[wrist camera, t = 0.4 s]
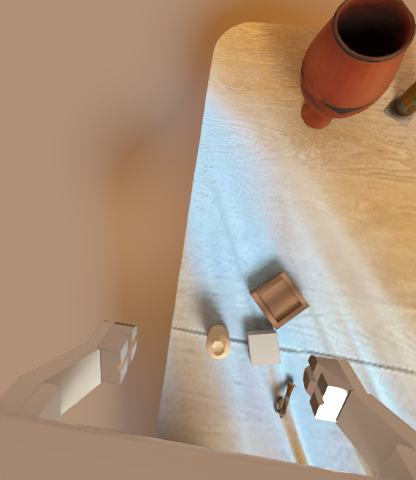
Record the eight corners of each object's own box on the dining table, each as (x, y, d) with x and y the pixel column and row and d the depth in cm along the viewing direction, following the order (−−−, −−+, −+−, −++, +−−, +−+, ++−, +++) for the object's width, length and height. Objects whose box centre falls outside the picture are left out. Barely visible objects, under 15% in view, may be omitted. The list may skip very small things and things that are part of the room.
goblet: (346, 152, 64) (426, 78, 39) (277, 140, 65) (312, 61, 40) (356, 90, 66) (438, -17, 41) (289, 80, 67) (329, -30, 42)
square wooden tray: (303, 303, 59) (309, 305, 55) (272, 325, 59) (276, 330, 55) (280, 271, 61) (284, 271, 57) (249, 293, 60) (251, 295, 56)
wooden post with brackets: (271, 413, 56) (279, 417, 52) (282, 379, 60) (290, 381, 56) (277, 417, 56) (286, 422, 52) (288, 383, 59) (297, 385, 55)
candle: (205, 327, 60) (202, 339, 50) (225, 321, 60) (226, 332, 50) (211, 348, 59) (209, 364, 49) (231, 342, 59) (233, 357, 49)
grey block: (277, 356, 58) (281, 363, 54) (249, 359, 59) (251, 365, 55) (273, 328, 59) (277, 333, 55) (246, 330, 60) (248, 335, 56)
